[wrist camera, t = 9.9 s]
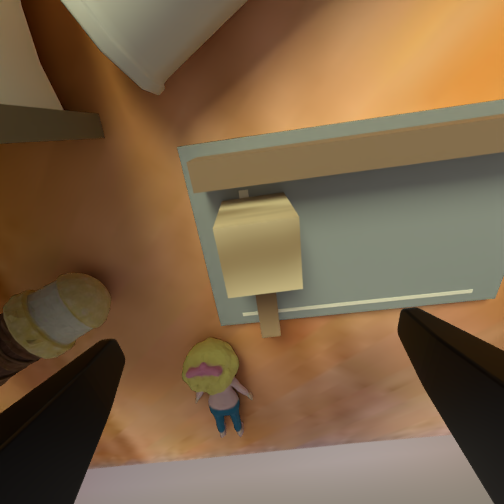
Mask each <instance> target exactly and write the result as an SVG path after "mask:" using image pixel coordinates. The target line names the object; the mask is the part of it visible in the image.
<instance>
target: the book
mask: <svg viewBox="0 0 504 504" xmlns="http://www.w3.org/2000/svg"><path fill="white" fill-rule="evenodd" d="M96 138H105V137H104V133H103V129H102V125H101V121H100V117H99V114H97V113H86V112H76V111H66V110H63V108H62V106H61V104H60V102H59V100H58V98H57V96H56V94H55V92H54V90H53V88H52V86H51V84H50V82H49V80H48V78H47V76H46V74H45V72H44V70H43V68H42V66H41V64H40V61H39V58H38V55H37V52H36V49H35V46H34V43H33V39H32V36H31V33H30V30H29V27H28V24H27V21H26V18H25V15H24V12H23V9H22V6H21V0H0V144H3V143H22V142H40V141H59V140H77V139H96Z"/></svg>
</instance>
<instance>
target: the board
mask: <svg viewBox="0 0 504 504" xmlns="http://www.w3.org/2000/svg"><path fill="white" fill-rule="evenodd" d="M177 149H178V153H179V157H180V161H181V165H182V169H183V174H184V178H185V182H186V186H187V190H188V194H189V198H190V202H191V206H192V210H193V214H194V218H195V222H196V226H197V230H198V234H199V238H200V242H201V246H202V250H203V254H204V259H205V263H206V267H207V271H208V275H209V279H210V283H211V287H212V291H213V295H214V299H215V303H216V307H217V311H218V315H219V319H220V323H221V326H225V325H235V324H245V323H255V322H260V321H259V315H258V309H257V302H256V296H255V295H251V296H243V297H235V298H228V295H227V291H226V286H225V282H224V277H223V273H222V268H221V264H220V259H219V255H218V250H217V246H216V241H215V237H214V232H213V226H214V223H215V220H216V217H217V214H218V211H219V208H220V205H221V202H222V201H226V200H233V199H240V198H247V197H254V196H261V195H268V194H275V193H282V192H284V194H285V195H286V197H287V198H288V200H289V201H290V203H291V205H292V206H293V208H294V209H295V211H296V212H297V214H298V216H299V222H300V241H301V260H302V279H303V289H298V290H290V291H282V292H276V296H277V305H278V314H279V320H285V319H295V318H305V317H315V316H325V315H335V314H345V313H354V312H364V311H374V310H384V309H394V308H404V307H414V306H424V305H434V304H444V303H454V302H464V301H474V300H484V299H494V298H495V297H496V294H497V292H498V289H499V287H500V284H501V281H502V279H503V276H504V99H502V100H495V101H488V102H481V103H475V104H468V105H461V106H454V107H447V108H440V109H433V110H426V111H420V112H413V113H406V114H399V115H392V116H385V117H378V118H372V119H365V120H358V121H351V122H344V123H337V124H330V125H323V126H317V127H310V128H303V129H296V130H289V131H282V132H275V133H269V134H262V135H255V136H248V137H241V138H234V139H227V140H220V141H214V142H207V143H200V144H193V145H186V146H180V147H177Z"/></svg>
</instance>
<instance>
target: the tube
mask: <svg viewBox="0 0 504 504" xmlns="http://www.w3.org/2000/svg"><path fill="white" fill-rule="evenodd" d="M247 1H248V0H61V2H62V3H63V4H64V5H65V7H66V8H67V9H68V11H69V12H70V13H71V14H72V16H73V17H74V18H75V19H76V21H77V22H78V23H79V24H80V26H81V27H82V28H83V29H84V31H85V32H86V33H87V35H88V36H89V37H90V38H91V40H92V41H93V42H94V43H95V45H96V46H97V47H98V48H99V50H100V51H101V52H102V53H103V54H104V55H105V56H107V57H108V58H109V59H110V60H111V61H112V62H113V63H114V64H115V65H116V66H117V67H119V68H120V69H121V70H122V71H123V72H124V73H125V74H126V75H127V76H128V77H129V78H130V79H132V80H133V81H134V82H135V83H136V84H137V85H138V86H139V87H140V88H141V89H143V90H146V91H148V92H151V93H153V94H156V95H160V94H161V93H162V92H163V91H164V90H165V87H164V83H165V82H166V81H167V79H168V78H169V77H170V76H171V75H172V74H173V73H174V72H175V71H176V70H177V69H178V68H179V67H180V66H181V65H182V64H183V63H184V62H185V61H186V60H187V59H188V58H189V57H190V56H191V55H193V54H194V53H195V52H196V51H197V50H198V49H199V48H200V47H201V46H202V45H203V44H204V43H205V42H206V41H207V40H208V39H209V38H210V37H211V36H212V35H213V34H214V33H215V32H216V31H217V30H218V29H219V28H220V27H221V26H222V25H223V24H224V23H225V22H226V21H227V20H228V19H229V18H230V17H231V16H232V15H233V14H234V13H235V12H236V11H237V10H238V9H239V8H241V7H242V6H243V5H244V4H245V3H246V2H247Z"/></svg>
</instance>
